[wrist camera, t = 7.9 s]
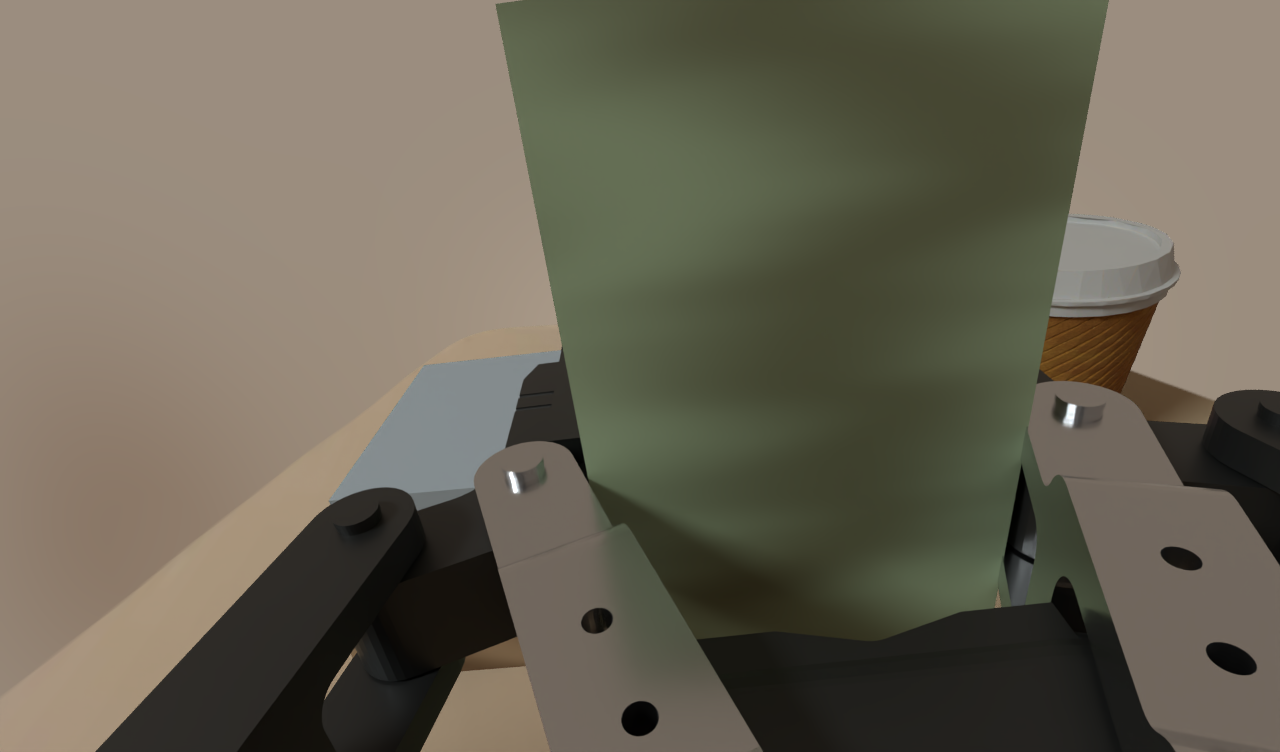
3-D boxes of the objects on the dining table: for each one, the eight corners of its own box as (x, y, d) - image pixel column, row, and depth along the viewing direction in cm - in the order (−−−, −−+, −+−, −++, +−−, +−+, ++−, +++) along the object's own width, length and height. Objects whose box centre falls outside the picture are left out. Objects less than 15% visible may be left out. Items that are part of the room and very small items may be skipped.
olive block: (667, 887, 12) (495, 3, 5) (655, 653, 16) (552, 13, 10) (946, 861, 12) (1125, -83, 5) (857, 632, 16) (892, -34, 10)
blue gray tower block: (365, 581, 29) (328, 500, 27) (445, 431, 39) (424, 365, 37) (543, 567, 28) (520, 483, 26) (576, 418, 39) (562, 350, 37)
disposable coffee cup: (1177, 473, 34) (1246, 246, 28) (1009, 518, 32) (1046, 290, 27) (1040, 389, 42) (1071, 201, 36) (902, 422, 41) (913, 233, 35)
